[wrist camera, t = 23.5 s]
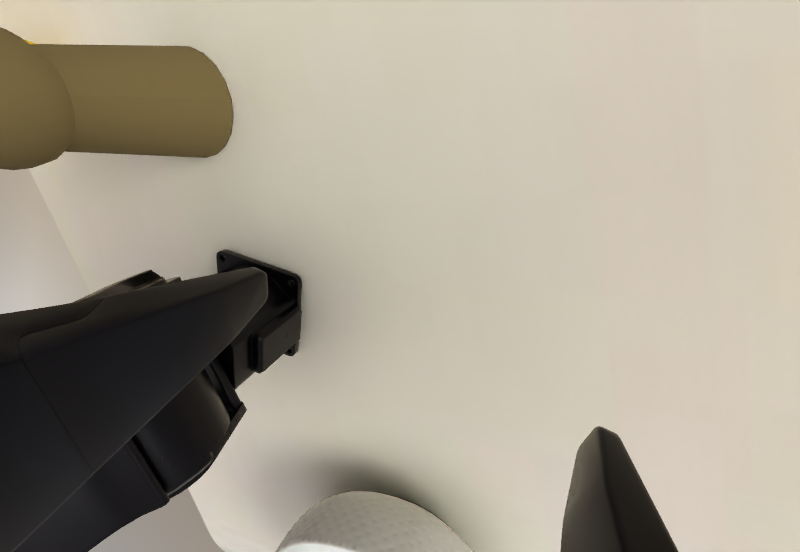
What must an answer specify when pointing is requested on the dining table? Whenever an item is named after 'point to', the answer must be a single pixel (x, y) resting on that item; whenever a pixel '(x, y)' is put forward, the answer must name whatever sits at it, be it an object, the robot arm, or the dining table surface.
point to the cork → (108, 101)
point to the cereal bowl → (370, 527)
